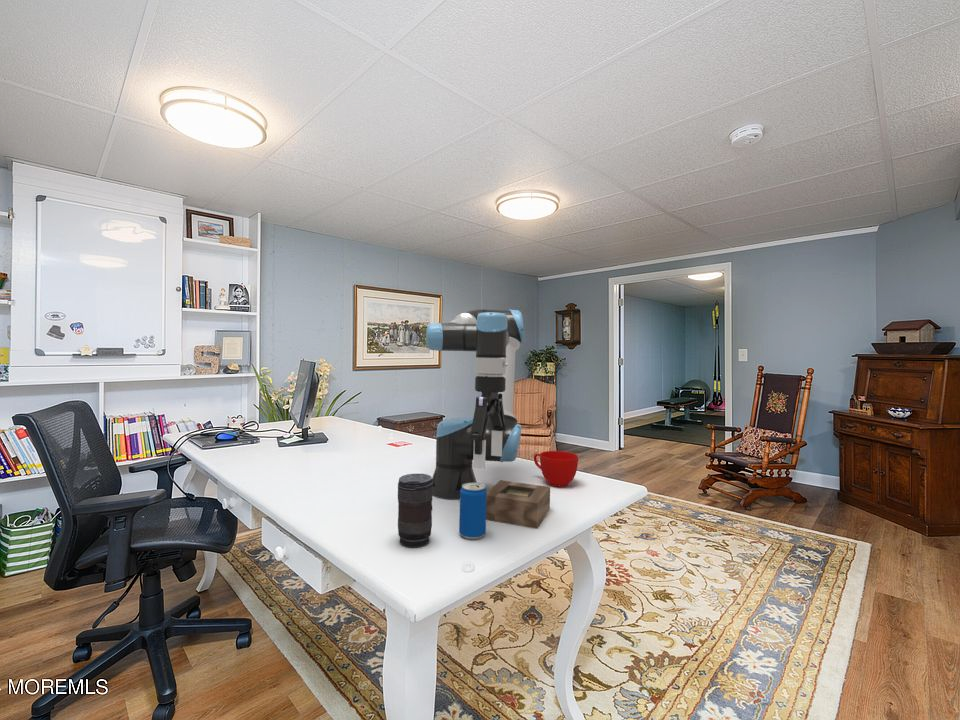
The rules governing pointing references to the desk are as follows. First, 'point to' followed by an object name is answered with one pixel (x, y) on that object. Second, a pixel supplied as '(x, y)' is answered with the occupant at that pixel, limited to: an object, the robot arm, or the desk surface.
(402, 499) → the camera lens
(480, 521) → the beverage can
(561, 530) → the desk surface
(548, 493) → the socket block
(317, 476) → the desk surface
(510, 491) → the gold metal plaque
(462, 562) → the desk surface
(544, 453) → the ceramic cup
